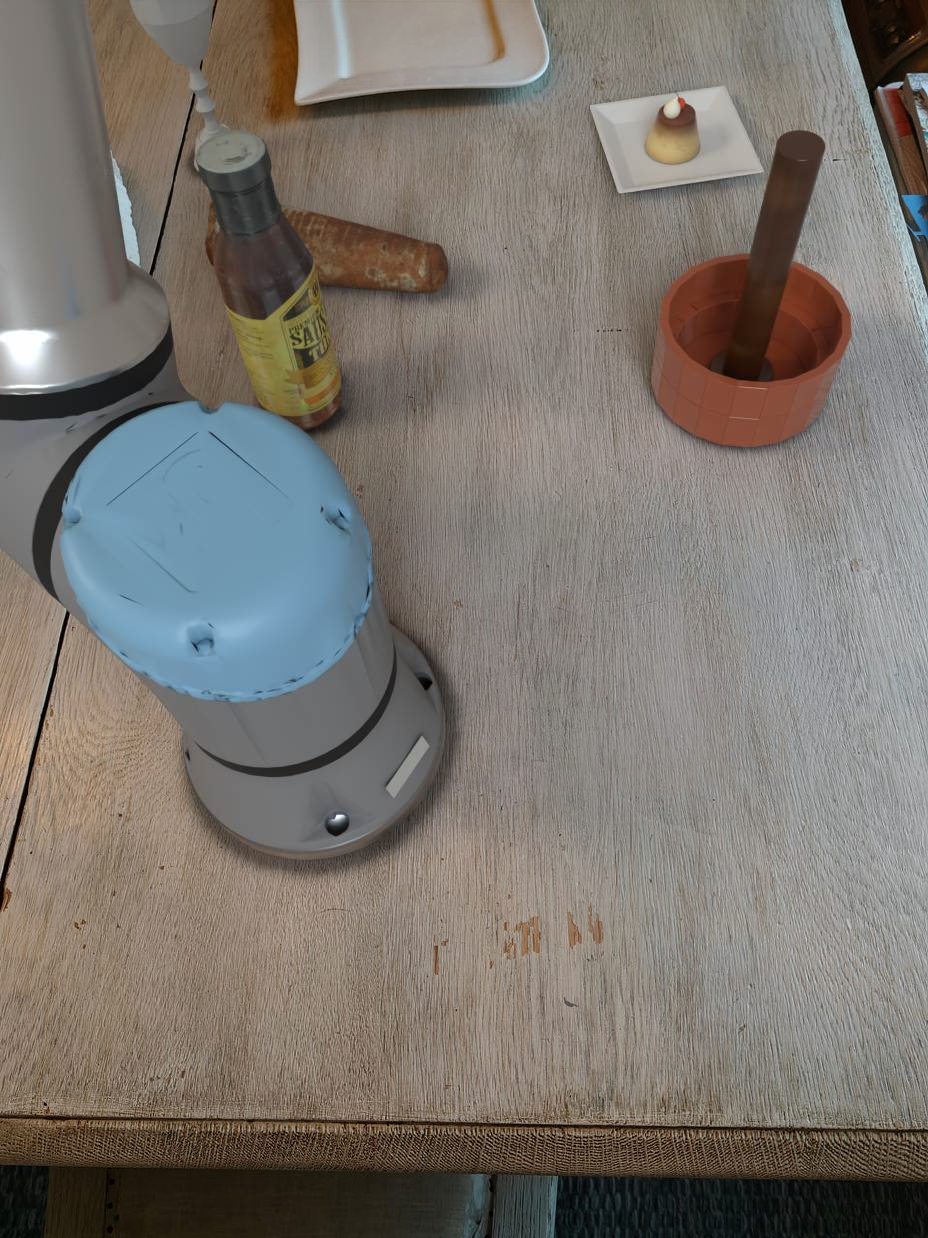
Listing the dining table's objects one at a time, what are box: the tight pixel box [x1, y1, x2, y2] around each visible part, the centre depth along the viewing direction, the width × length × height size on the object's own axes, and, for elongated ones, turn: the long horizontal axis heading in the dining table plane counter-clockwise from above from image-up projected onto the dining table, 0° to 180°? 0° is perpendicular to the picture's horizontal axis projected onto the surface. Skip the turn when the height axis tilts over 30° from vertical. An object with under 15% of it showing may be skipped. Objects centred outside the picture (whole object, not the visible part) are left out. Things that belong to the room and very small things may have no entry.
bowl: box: [650, 252, 852, 448], centre depth 65 cm, size 12×12×6 cm
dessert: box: [589, 84, 765, 195], centre depth 79 cm, size 12×12×5 cm
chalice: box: [128, 0, 235, 172], centre depth 77 cm, size 7×7×18 cm
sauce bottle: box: [196, 129, 343, 431], centre depth 62 cm, size 7×6×20 cm
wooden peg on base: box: [709, 129, 826, 382], centre depth 60 cm, size 4×4×18 cm
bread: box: [204, 200, 450, 294], centre depth 74 cm, size 6×19×6 cm, turn 74°
